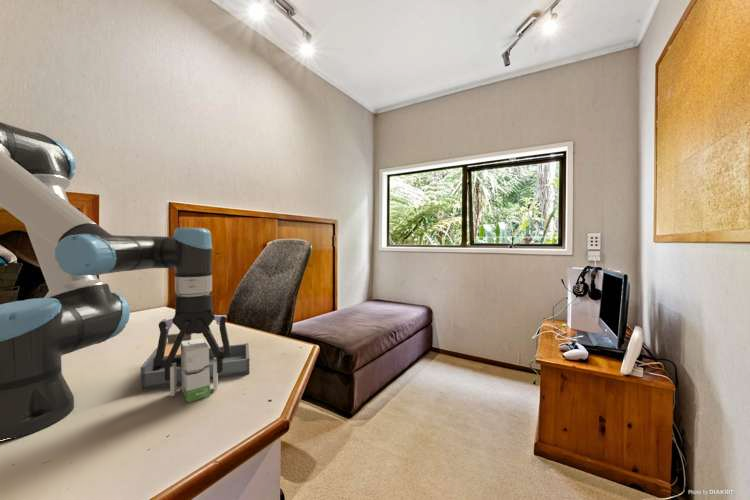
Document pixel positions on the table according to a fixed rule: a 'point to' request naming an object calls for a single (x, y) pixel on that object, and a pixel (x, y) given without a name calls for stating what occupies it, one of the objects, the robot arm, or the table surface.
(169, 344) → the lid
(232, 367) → the tray
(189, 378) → the ink box
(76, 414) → the table surface
